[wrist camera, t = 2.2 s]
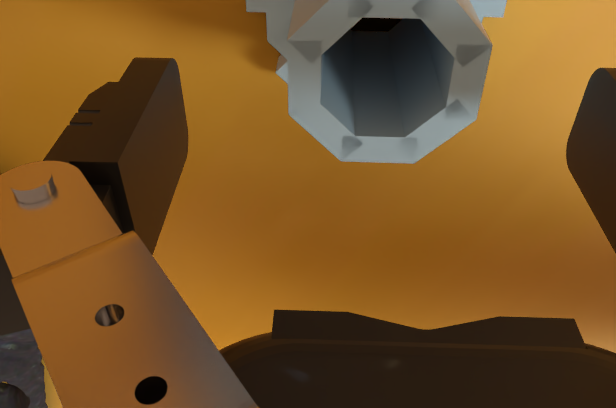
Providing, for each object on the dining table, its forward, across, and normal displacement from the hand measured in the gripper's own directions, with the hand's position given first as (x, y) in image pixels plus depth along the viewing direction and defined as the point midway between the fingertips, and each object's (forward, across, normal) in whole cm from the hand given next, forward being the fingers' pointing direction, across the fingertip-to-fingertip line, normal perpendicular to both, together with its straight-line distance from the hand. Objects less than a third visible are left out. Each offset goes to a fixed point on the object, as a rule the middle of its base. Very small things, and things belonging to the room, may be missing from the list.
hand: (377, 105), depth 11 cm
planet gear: (+8, 0, 0) cm, 8 cm away
